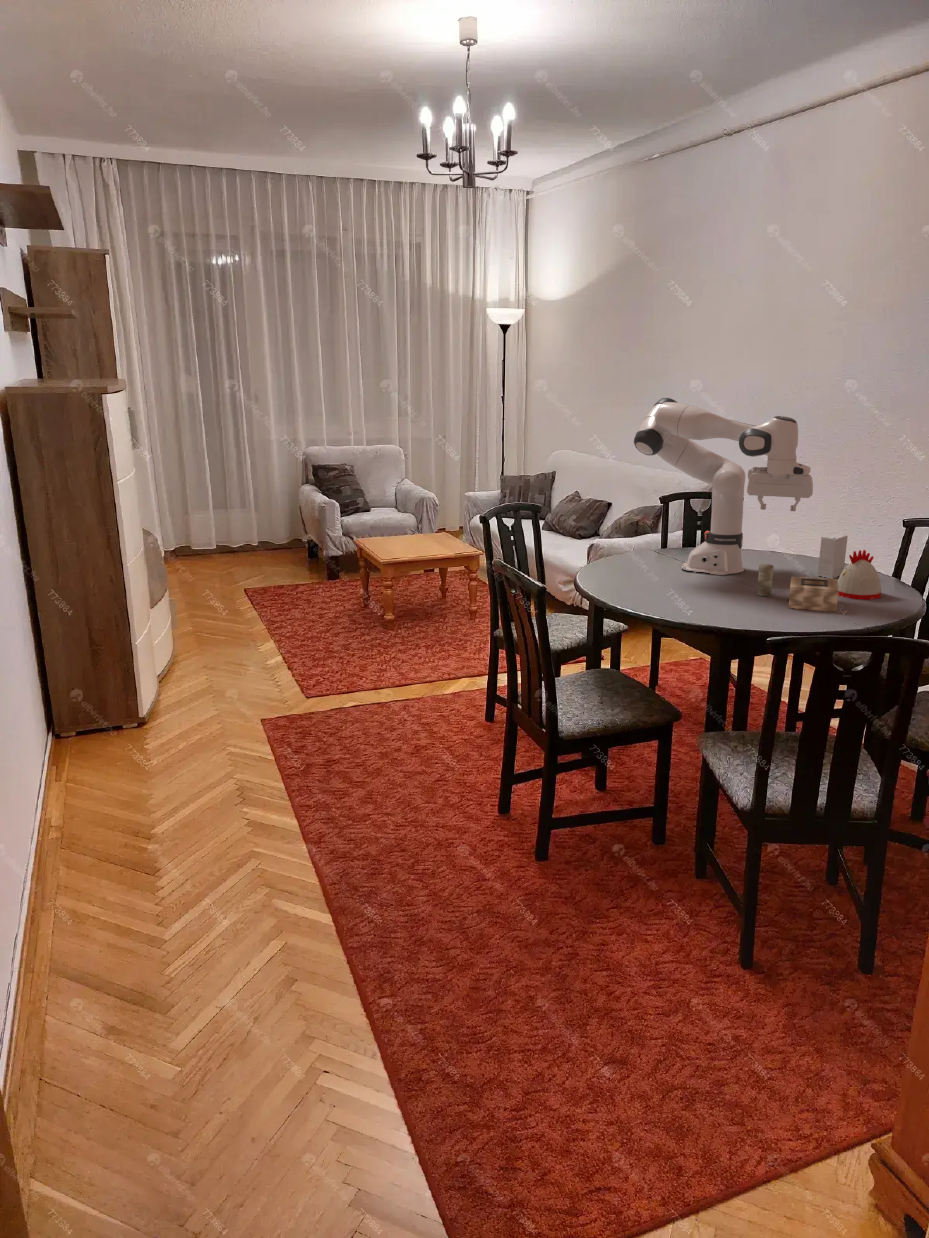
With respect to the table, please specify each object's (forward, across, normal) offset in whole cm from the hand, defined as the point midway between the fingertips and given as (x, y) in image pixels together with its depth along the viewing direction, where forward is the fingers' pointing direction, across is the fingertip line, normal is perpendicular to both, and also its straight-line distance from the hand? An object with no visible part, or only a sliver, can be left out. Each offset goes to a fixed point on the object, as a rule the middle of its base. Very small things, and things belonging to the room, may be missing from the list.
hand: (777, 510), depth 285 cm
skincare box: (+28, +14, +31) cm, 44 cm away
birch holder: (+28, +15, -10) cm, 33 cm away
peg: (+28, -2, -5) cm, 28 cm away
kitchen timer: (+28, +26, +8) cm, 39 cm away
